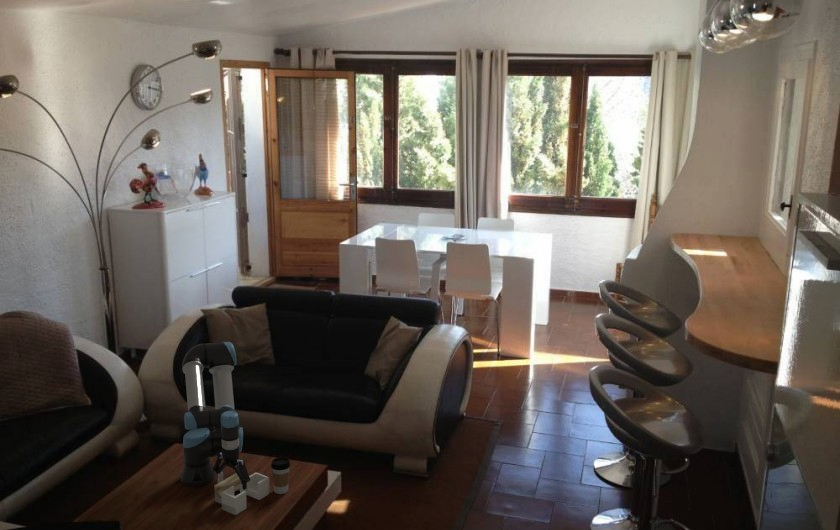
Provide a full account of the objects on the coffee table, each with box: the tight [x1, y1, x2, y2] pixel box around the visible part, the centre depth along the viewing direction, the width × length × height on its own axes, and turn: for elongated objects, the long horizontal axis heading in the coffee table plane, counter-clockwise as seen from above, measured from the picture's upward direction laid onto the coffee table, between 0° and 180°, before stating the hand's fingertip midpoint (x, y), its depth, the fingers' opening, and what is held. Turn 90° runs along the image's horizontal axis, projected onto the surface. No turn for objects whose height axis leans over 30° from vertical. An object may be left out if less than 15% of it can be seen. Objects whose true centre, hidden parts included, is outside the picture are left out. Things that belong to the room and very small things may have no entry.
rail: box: [214, 472, 244, 499], centre depth 329 cm, size 4×16×5 cm, turn 149°
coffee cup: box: [270, 456, 291, 495], centre depth 334 cm, size 8×8×15 cm
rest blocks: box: [214, 489, 240, 505], centre depth 330 cm, size 5×15×3 cm, turn 149°
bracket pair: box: [221, 472, 271, 516], centre depth 325 cm, size 8×21×8 cm, turn 149°
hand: (232, 490), depth 329 cm, fingers open, 13 cm apart
